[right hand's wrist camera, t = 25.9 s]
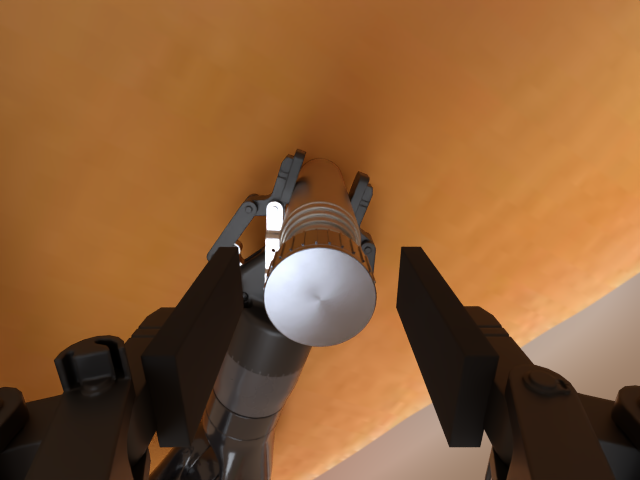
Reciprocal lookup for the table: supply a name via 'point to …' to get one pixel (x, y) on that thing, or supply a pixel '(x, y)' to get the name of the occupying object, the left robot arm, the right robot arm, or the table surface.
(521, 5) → the table surface
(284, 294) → the cap
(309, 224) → the bottle
